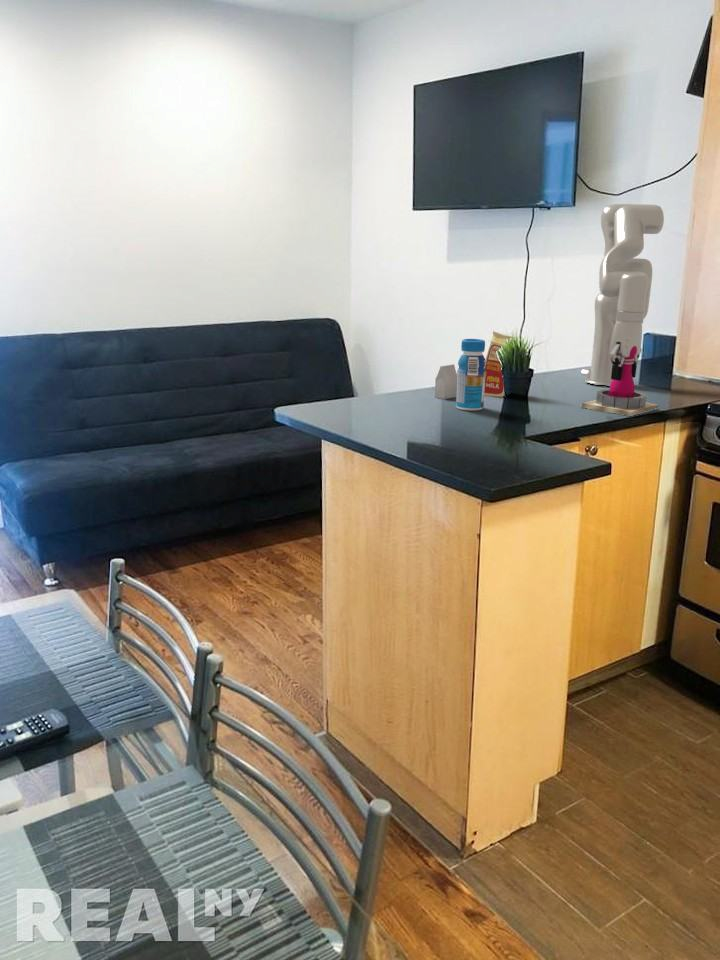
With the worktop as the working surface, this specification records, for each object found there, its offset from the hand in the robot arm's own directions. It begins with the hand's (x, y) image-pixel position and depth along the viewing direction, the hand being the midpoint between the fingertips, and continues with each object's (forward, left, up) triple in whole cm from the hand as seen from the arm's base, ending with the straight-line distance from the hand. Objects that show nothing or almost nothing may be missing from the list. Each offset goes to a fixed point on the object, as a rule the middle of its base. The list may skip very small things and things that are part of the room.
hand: (623, 377), depth 240 cm
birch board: (0, 0, -9) cm, 9 cm away
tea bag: (-45, -27, -9) cm, 53 cm away
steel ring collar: (0, 0, -8) cm, 8 cm away
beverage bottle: (-29, -35, -9) cm, 46 cm away
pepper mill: (0, 0, -8) cm, 8 cm away
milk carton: (-38, -10, -9) cm, 40 cm away
